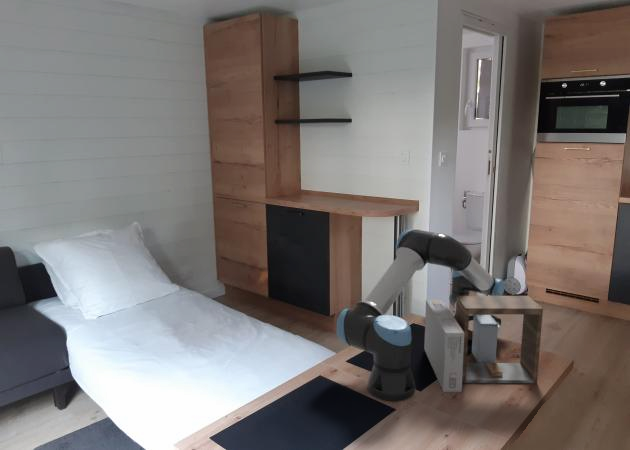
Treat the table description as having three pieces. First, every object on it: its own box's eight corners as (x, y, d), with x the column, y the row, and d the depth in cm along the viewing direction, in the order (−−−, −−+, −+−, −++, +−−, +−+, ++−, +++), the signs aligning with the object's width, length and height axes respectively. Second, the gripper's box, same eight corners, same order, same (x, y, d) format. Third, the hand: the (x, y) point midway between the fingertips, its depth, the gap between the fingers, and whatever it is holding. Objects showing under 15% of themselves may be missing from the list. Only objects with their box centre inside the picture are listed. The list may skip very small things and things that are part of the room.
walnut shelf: (462, 382, 162) (465, 308, 157) (453, 365, 174) (456, 295, 169) (536, 383, 161) (542, 308, 156) (523, 365, 173) (528, 295, 168)
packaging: (462, 391, 157) (464, 333, 153) (442, 391, 157) (445, 333, 153) (440, 349, 187) (442, 299, 183) (424, 349, 187) (425, 299, 183)
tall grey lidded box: (478, 363, 175) (480, 324, 172) (471, 352, 184) (473, 314, 181) (495, 363, 175) (498, 324, 172) (487, 352, 184) (490, 314, 181)
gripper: (495, 318, 205) (513, 339, 185) (435, 317, 206) (446, 339, 186) (496, 301, 204) (514, 320, 183) (436, 301, 205) (447, 320, 184)
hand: (480, 330), depth 184 cm, fingers open, 13 cm apart
